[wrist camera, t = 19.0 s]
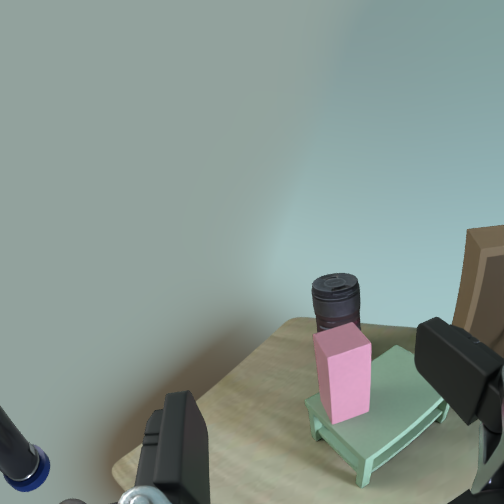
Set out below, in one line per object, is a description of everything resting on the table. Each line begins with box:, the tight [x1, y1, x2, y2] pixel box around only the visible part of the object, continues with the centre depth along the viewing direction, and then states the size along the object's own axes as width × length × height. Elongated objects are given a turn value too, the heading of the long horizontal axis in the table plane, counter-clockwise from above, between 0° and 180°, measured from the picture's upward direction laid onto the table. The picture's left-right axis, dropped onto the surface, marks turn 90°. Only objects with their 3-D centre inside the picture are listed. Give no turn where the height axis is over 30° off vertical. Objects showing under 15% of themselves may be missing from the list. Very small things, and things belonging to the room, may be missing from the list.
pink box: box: [313, 322, 371, 425], centre depth 28 cm, size 4×4×10 cm
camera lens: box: [312, 273, 361, 333], centre depth 49 cm, size 8×8×15 cm
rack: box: [305, 345, 450, 488], centre depth 30 cm, size 16×12×8 cm
